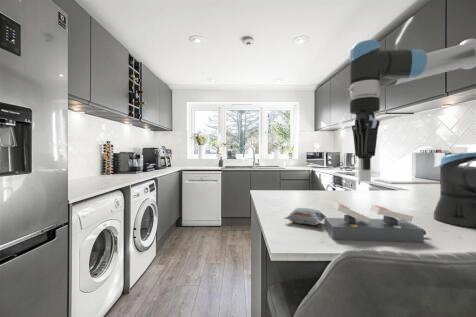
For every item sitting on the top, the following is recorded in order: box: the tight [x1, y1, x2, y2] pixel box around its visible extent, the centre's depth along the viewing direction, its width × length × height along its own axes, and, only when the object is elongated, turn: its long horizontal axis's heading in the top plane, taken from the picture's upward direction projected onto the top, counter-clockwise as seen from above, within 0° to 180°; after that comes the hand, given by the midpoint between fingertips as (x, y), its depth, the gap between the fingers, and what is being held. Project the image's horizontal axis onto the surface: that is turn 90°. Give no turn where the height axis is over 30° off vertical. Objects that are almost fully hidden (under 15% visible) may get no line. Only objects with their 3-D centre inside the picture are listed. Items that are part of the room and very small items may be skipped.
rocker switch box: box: [323, 214, 427, 243], centre depth 67 cm, size 26×9×5 cm, turn 83°
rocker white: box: [370, 204, 414, 223], centre depth 67 cm, size 9×4×2 cm, turn 83°
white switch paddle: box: [332, 202, 372, 223], centre depth 68 cm, size 9×4×2 cm, turn 84°
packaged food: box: [283, 207, 327, 226], centre depth 80 cm, size 9×12×5 cm
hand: (364, 181), depth 68 cm, fingers closed
